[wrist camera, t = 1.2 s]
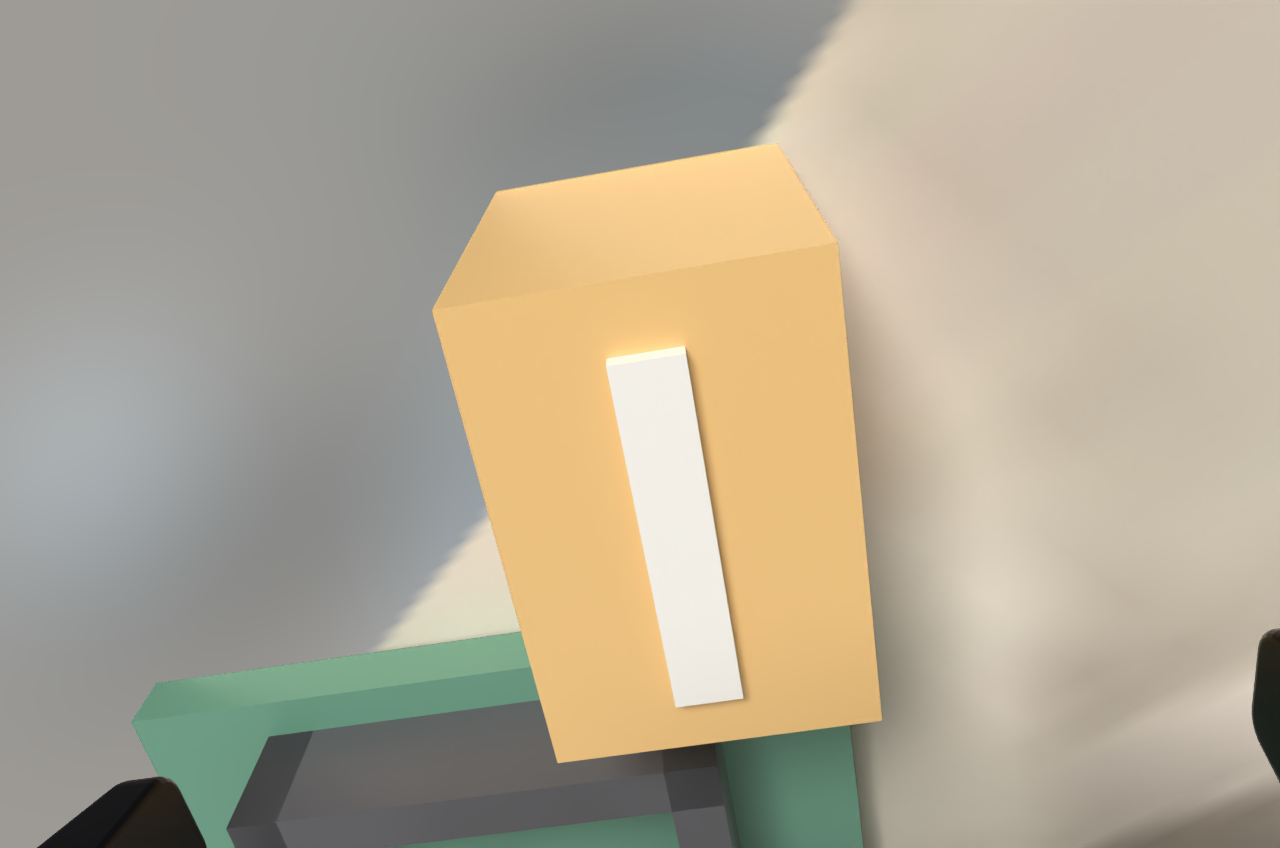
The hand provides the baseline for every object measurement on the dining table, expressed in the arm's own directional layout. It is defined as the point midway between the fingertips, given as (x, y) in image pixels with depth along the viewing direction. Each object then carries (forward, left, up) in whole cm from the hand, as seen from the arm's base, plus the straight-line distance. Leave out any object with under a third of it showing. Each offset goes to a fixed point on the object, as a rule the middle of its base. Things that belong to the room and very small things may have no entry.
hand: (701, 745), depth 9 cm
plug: (0, 0, -8) cm, 8 cm away
